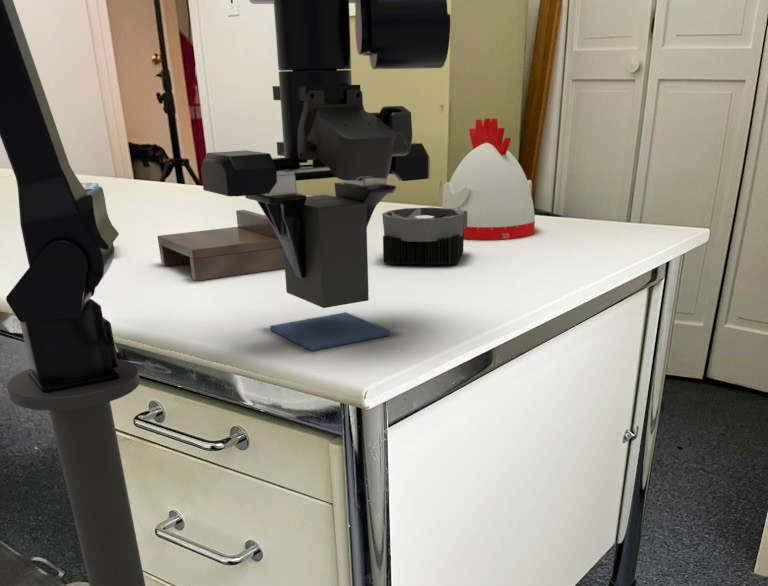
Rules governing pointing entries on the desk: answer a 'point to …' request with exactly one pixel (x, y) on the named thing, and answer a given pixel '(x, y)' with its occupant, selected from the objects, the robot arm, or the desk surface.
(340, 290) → the dark grey block
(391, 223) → the cpu cooler
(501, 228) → the kitchen timer
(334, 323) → the rubber mat
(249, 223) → the desk shelf
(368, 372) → the desk surface
